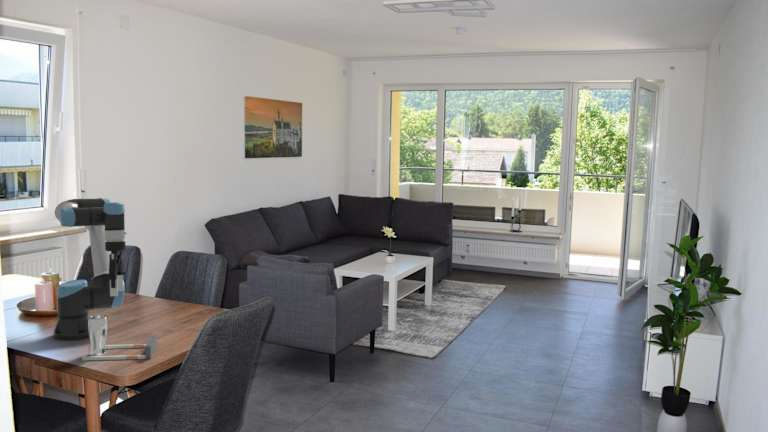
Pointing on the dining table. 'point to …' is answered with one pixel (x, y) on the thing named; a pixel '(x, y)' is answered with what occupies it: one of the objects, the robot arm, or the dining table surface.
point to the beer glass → (97, 334)
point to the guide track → (148, 347)
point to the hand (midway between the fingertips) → (116, 293)
